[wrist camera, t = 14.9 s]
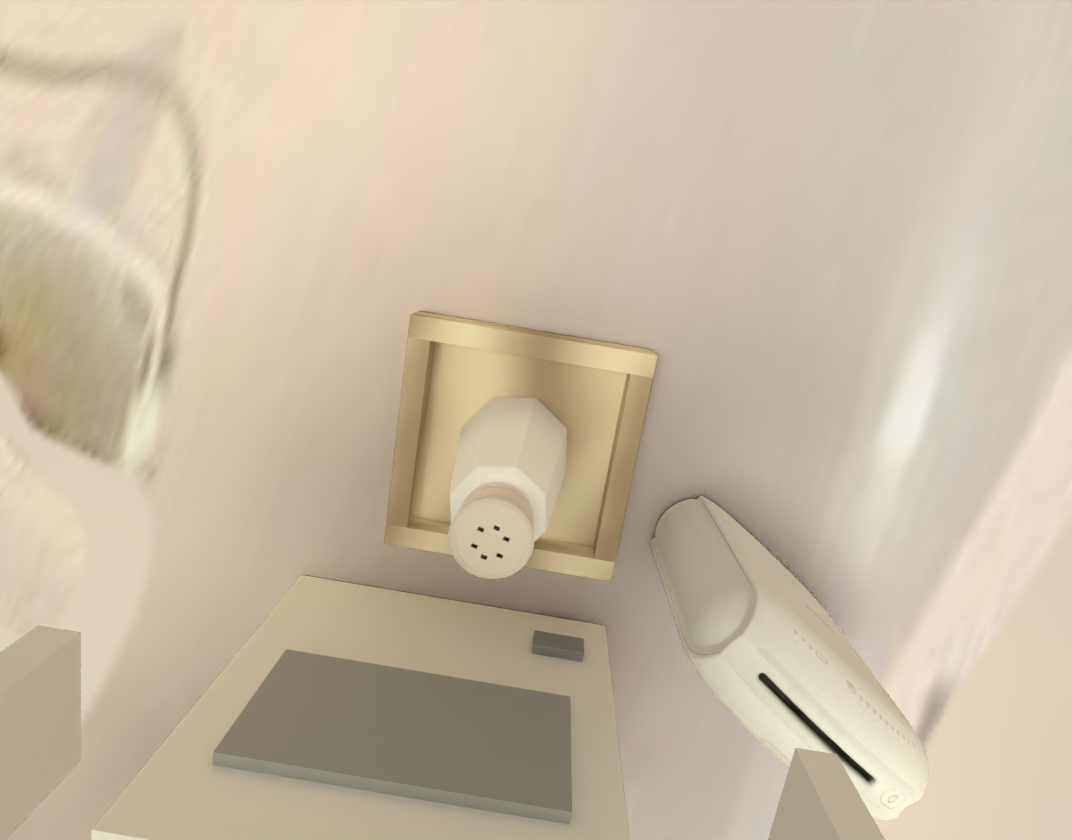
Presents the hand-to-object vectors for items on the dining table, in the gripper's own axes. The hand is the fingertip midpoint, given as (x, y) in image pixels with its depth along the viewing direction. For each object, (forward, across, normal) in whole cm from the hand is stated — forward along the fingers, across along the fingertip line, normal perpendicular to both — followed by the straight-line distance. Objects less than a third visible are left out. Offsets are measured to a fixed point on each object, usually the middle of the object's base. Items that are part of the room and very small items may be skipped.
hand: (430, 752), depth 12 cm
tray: (+21, 0, 0) cm, 21 cm away
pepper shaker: (+21, 0, 0) cm, 21 cm away
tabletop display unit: (+21, -2, -13) cm, 25 cm away
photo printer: (+21, +12, -5) cm, 25 cm away
